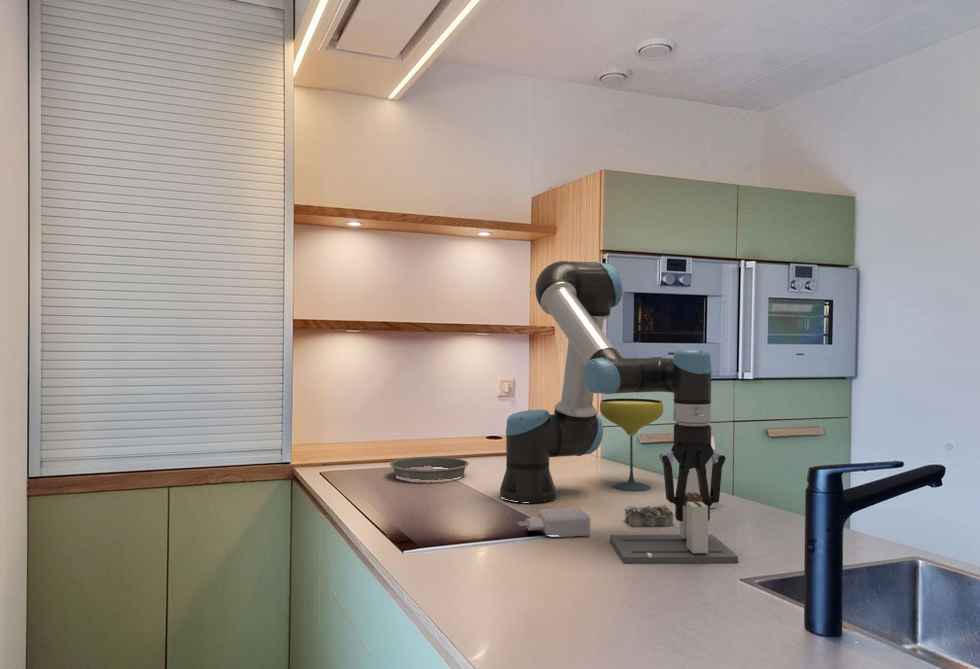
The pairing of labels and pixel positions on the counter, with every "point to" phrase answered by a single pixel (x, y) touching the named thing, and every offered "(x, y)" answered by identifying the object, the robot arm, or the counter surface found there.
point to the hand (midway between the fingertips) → (692, 536)
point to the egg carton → (648, 516)
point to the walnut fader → (692, 498)
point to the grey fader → (697, 527)
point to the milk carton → (693, 479)
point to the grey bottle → (560, 522)
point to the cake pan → (453, 465)
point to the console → (668, 550)
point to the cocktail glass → (631, 425)
